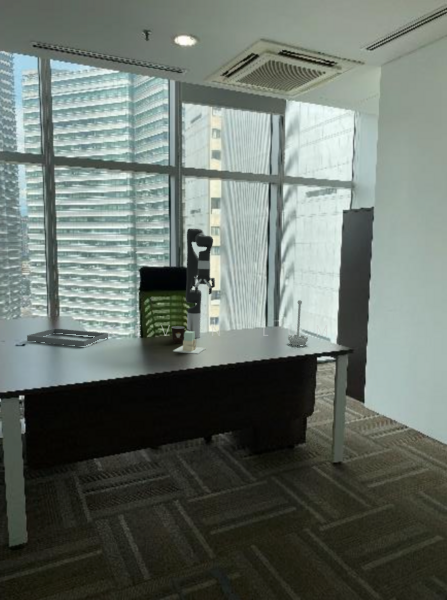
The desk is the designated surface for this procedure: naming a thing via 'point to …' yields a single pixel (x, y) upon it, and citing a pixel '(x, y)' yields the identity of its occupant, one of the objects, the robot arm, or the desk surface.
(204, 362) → the desk surface
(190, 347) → the maple block
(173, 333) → the coffee mug
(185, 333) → the sage block
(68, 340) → the document tray
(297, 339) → the flag stand
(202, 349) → the desk pad
